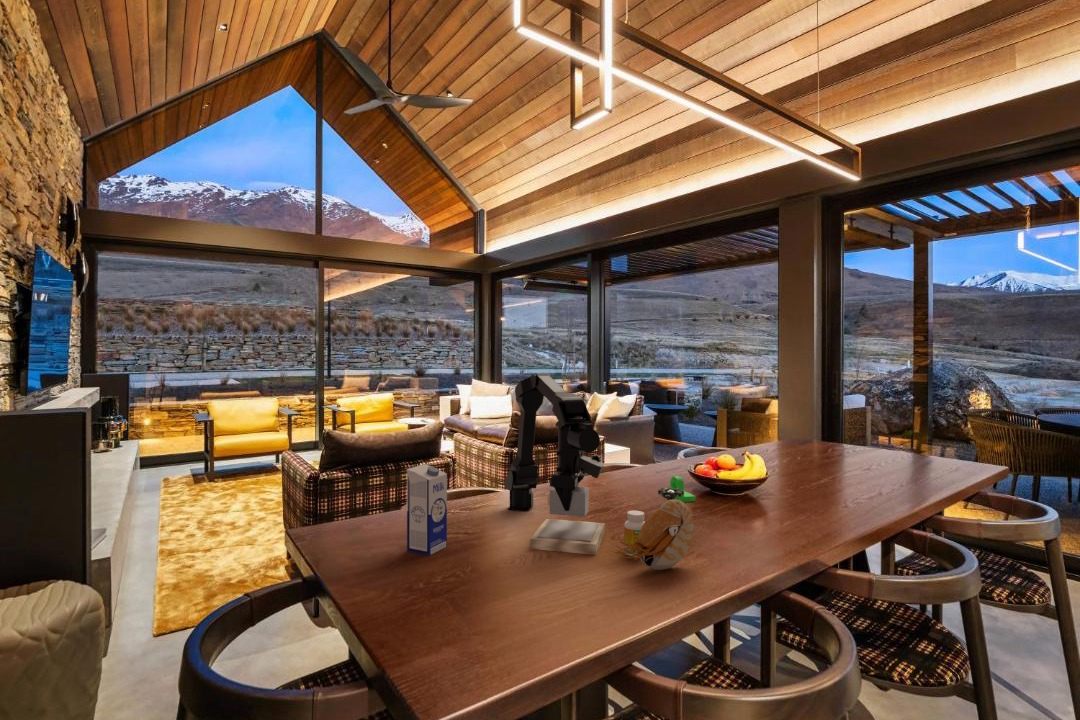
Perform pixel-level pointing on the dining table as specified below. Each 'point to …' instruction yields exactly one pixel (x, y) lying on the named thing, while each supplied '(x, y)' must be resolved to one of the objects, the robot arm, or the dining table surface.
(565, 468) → the robot arm
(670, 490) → the valve
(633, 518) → the supplement bottle
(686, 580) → the dining table surface
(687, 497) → the mechanical part
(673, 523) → the nautilus
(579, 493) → the block
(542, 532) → the stand
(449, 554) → the dining table surface
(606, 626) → the dining table surface
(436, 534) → the milk carton
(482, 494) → the dining table surface
